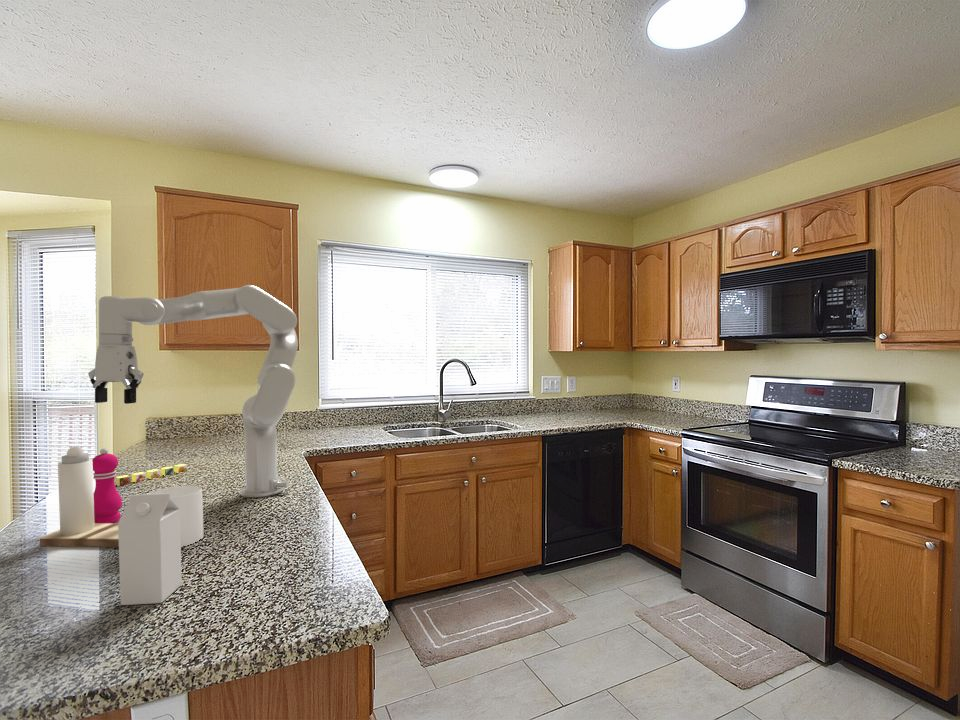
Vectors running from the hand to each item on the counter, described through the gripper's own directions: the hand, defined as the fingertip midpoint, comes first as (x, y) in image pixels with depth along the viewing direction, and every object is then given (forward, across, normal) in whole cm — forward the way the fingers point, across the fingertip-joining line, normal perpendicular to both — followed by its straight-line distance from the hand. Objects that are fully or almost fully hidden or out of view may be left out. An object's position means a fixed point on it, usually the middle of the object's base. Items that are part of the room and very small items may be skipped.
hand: (115, 402), depth 138 cm
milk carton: (+32, -49, +36) cm, 68 cm away
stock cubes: (+32, +24, -39) cm, 56 cm away
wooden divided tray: (+32, -11, +14) cm, 37 cm away
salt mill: (+30, -5, +15) cm, 34 cm away
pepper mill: (+32, -1, +3) cm, 32 cm away
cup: (+32, -31, +12) cm, 46 cm away
